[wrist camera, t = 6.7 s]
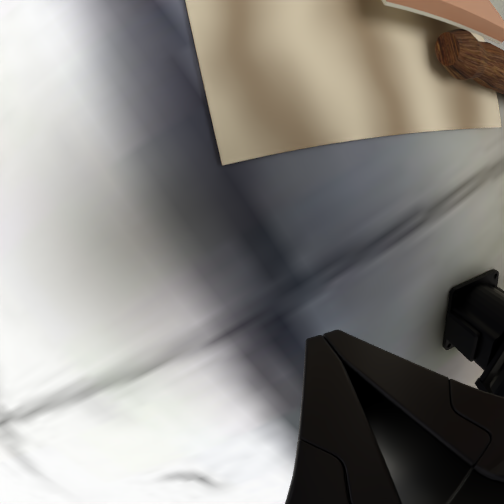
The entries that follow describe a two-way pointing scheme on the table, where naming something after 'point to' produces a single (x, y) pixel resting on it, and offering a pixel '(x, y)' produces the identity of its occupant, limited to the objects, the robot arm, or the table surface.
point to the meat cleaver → (471, 59)
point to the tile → (459, 14)
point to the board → (326, 74)
